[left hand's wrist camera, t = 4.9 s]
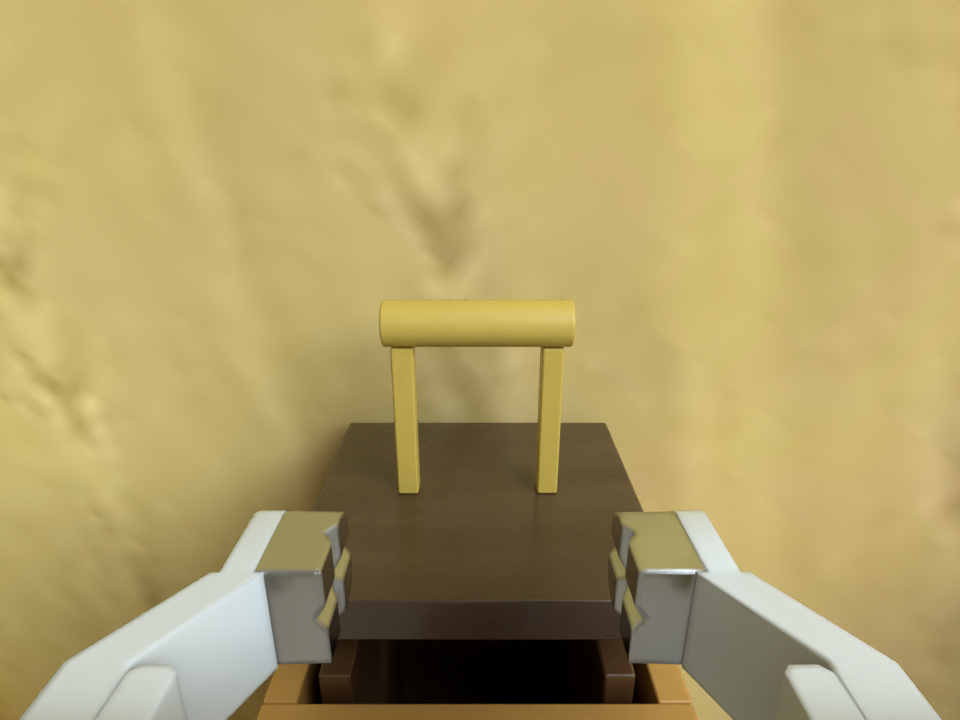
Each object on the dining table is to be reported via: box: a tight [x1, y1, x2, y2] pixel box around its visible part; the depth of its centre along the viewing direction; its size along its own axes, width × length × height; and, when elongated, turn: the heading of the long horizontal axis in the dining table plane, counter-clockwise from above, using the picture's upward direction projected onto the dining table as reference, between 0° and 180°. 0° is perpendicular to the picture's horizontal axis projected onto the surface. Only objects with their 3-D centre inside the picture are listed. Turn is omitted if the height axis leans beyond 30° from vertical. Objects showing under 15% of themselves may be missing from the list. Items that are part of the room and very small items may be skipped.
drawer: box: [312, 300, 643, 704], centre depth 20 cm, size 24×9×9 cm, turn 0°
